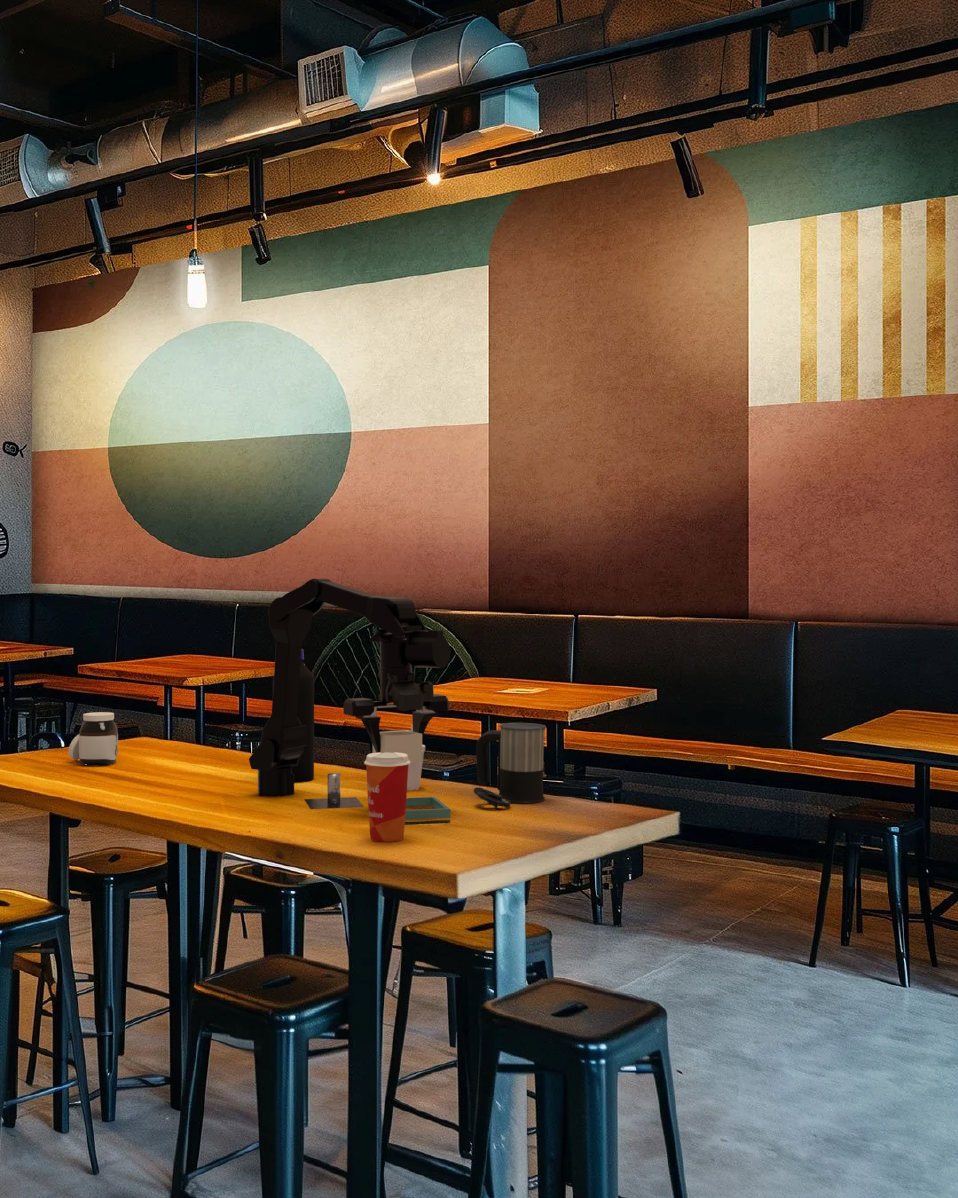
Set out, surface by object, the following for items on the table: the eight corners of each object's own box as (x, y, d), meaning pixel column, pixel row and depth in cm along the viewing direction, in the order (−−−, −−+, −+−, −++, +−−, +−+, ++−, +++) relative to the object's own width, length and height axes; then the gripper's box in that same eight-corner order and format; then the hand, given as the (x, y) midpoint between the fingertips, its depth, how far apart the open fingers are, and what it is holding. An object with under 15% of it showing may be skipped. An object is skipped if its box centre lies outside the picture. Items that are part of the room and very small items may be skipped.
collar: (372, 759, 220) (372, 732, 219) (408, 756, 222) (407, 730, 222) (386, 764, 213) (385, 736, 213) (422, 761, 216) (422, 733, 216)
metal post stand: (310, 814, 219) (310, 779, 219) (304, 804, 229) (304, 770, 229) (364, 812, 222) (364, 777, 222) (355, 802, 231) (356, 768, 231)
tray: (381, 826, 209) (381, 812, 209) (369, 812, 221) (369, 799, 221) (450, 823, 212) (450, 809, 212) (434, 809, 224) (434, 796, 224)
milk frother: (543, 796, 240) (544, 722, 239) (549, 811, 224) (549, 732, 224) (473, 795, 240) (473, 721, 239) (473, 811, 224) (473, 732, 224)
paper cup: (364, 833, 203) (364, 751, 203) (409, 833, 204) (409, 751, 204) (363, 844, 195) (364, 758, 195) (410, 843, 196) (411, 758, 196)
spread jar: (108, 767, 272) (108, 716, 272) (58, 767, 272) (58, 716, 272) (124, 759, 284) (124, 710, 284) (77, 759, 284) (77, 710, 284)
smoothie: (420, 797, 238) (421, 726, 237) (389, 795, 239) (390, 725, 239) (428, 791, 244) (429, 722, 244) (398, 790, 245) (398, 721, 245)
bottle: (264, 781, 255) (265, 650, 254) (286, 774, 263) (286, 647, 262) (300, 784, 251) (301, 651, 251) (321, 777, 260) (321, 648, 259)
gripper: (362, 671, 207) (363, 761, 207) (460, 667, 214) (462, 754, 214) (341, 668, 217) (343, 754, 217) (436, 664, 224) (437, 747, 225)
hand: (397, 752), depth 218 cm, fingers closed on collar, 7 cm apart
